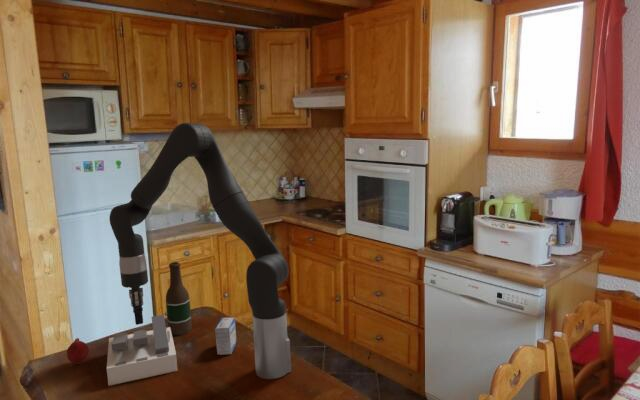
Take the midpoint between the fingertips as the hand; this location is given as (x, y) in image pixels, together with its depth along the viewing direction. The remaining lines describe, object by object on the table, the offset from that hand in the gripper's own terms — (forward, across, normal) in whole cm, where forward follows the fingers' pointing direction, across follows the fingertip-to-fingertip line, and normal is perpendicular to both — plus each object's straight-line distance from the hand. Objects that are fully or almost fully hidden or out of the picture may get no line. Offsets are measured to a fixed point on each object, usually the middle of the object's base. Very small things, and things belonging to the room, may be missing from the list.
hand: (139, 323), depth 143 cm
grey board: (+2, -6, +6) cm, 9 cm away
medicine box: (+10, -10, -24) cm, 28 cm away
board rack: (+10, -6, 0) cm, 12 cm away
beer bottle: (+10, +10, -12) cm, 19 cm away
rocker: (+2, -7, 0) cm, 7 cm away
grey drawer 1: (+2, -7, -5) cm, 9 cm away
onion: (+10, 0, +18) cm, 20 cm away
